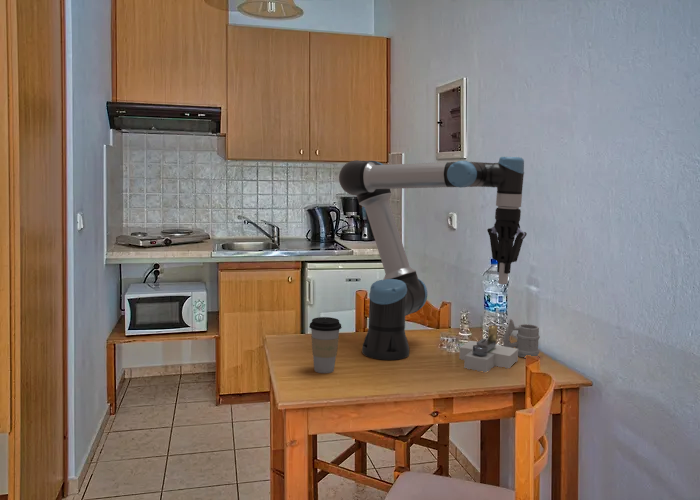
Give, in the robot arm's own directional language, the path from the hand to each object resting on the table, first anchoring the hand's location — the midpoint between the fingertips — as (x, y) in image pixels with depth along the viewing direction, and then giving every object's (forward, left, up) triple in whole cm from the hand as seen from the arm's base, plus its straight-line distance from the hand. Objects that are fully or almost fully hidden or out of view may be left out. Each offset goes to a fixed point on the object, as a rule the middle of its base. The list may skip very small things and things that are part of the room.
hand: (502, 283), depth 197 cm
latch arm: (-3, -5, -21) cm, 22 cm away
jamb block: (-3, -9, -25) cm, 27 cm away
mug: (+4, +12, -25) cm, 28 cm away
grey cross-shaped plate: (-3, 0, -25) cm, 25 cm away
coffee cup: (-40, -39, -25) cm, 62 cm away
